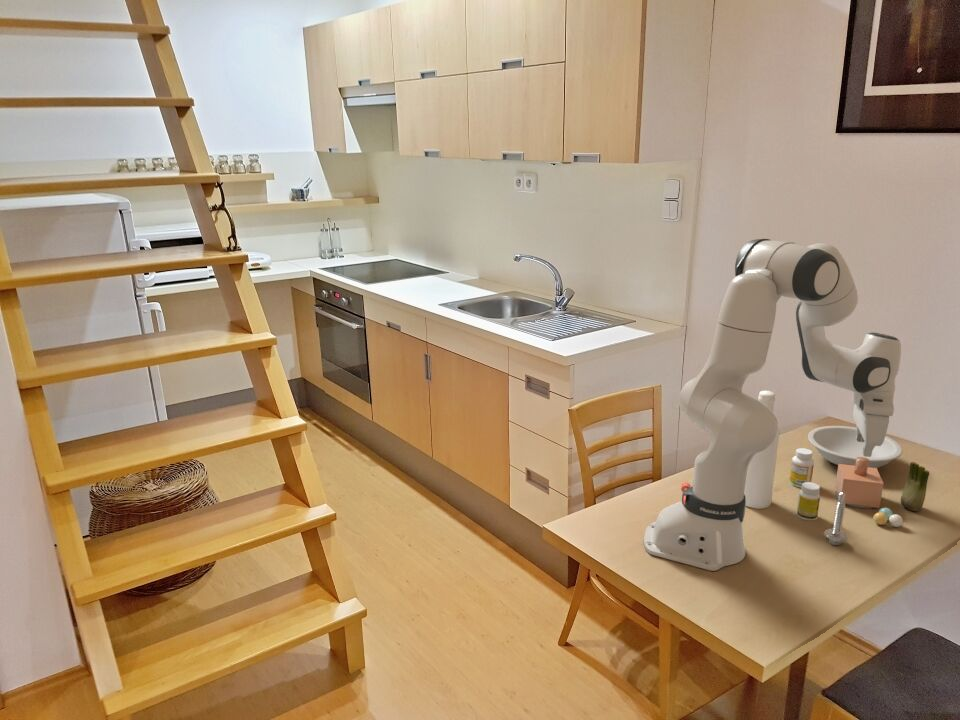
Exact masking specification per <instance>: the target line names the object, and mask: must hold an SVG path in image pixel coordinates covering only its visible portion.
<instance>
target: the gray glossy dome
mask: <svg viewBox="0 0 960 720" xmlns="http://www.w3.org/2000/svg"><path fill="white" fill-rule="evenodd" d="M834 497H835V499H836V500H837V501H838V495H837V492H836V491H835V492H834ZM845 506H849V507H851V508H856V509H862V510H863V509H865V510H868V509H874V508H875V507H868V506H860V505H852V504H845Z"/></svg>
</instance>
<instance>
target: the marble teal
mask: <svg viewBox="0 0 960 720" xmlns="http://www.w3.org/2000/svg"><path fill="white" fill-rule="evenodd" d="M878 512H881V513H884V514H885V515H886V516H887V518H888V520H887V521H889V517H890V516H891V515H893V511H892V510H891V509H890V508H888V507H881V508H880V509H879V510H878Z"/></svg>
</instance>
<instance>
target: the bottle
mask: <svg viewBox="0 0 960 720" xmlns="http://www.w3.org/2000/svg"><path fill="white" fill-rule="evenodd" d="M757 399H758V401H759V402H761V403H762V404H763V405H764V406H765V407H767V408H768V409H769V410H770V411H771V412H772V413H773V414H774V406H775V401H776V394H775V393H774V391H770V390H760V392H759V394H758V397H757ZM779 430H780V429H779V428H778V430H777V434H776V437H775V439H774V441H773V442H772V443H771V445H770V446H768V447H767V448H766V449H764V450H763V451H760V452H758V453H756V454H755V455H754V456H753V458H752V460H751V461H750V464H749V467H748V470H747V477H746V483H745V491H744V494H745V500H746V507H749V508H752V509H759V510H760V509H766V508H769V507H770V506H771V504H772V498H773V488H774V480H775V472H776V463H777V457H778V456H777V455H778V447H779V442H780V441H779V440H780V439H779V438H780V431H779Z"/></svg>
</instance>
